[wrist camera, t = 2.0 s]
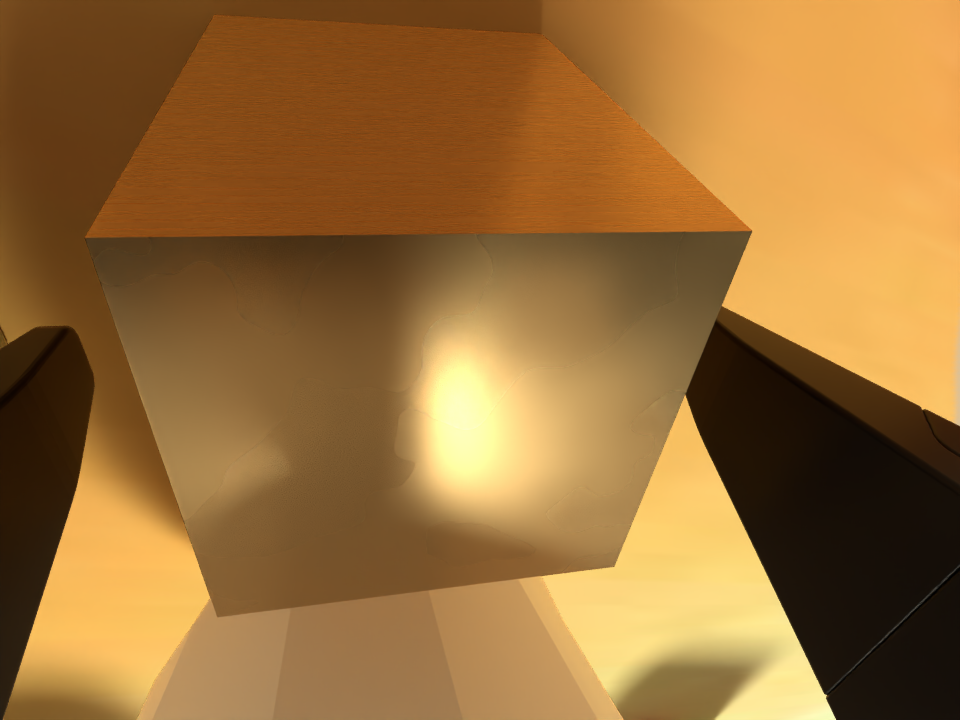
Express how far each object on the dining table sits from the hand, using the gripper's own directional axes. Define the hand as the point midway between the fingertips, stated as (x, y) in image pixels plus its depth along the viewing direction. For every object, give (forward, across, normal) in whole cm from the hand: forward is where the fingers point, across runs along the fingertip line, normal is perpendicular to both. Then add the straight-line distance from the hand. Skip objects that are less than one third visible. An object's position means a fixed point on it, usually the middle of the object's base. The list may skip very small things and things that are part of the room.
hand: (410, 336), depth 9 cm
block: (+6, 0, 0) cm, 6 cm away
